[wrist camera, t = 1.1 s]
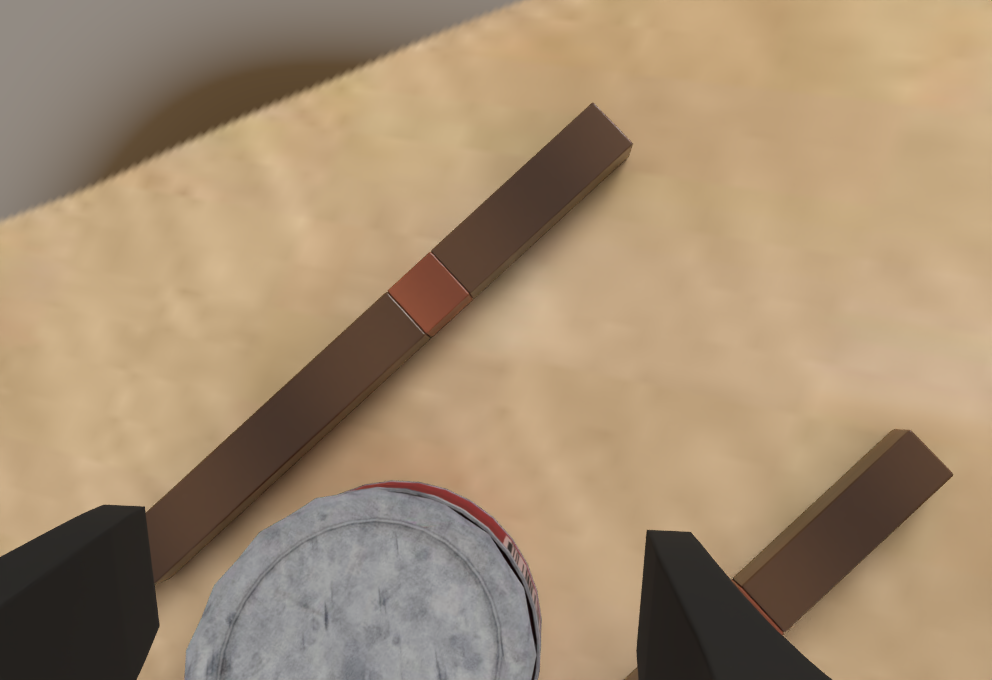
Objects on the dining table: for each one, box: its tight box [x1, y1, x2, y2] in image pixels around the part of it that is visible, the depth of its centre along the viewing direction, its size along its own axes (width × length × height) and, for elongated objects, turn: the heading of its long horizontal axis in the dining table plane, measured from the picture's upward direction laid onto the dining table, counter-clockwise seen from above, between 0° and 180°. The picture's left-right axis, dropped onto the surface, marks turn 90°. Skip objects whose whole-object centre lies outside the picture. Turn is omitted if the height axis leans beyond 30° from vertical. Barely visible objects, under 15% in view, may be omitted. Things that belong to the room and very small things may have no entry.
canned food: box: [185, 481, 542, 680], centre depth 29 cm, size 11×10×10 cm
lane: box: [146, 103, 953, 680], centre depth 31 cm, size 22×17×2 cm
